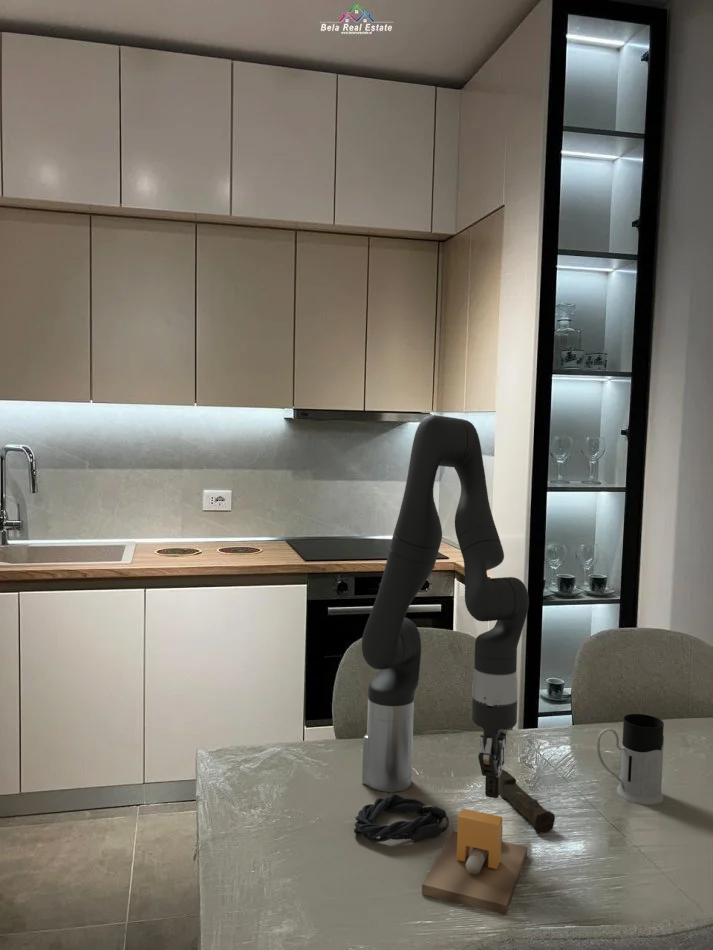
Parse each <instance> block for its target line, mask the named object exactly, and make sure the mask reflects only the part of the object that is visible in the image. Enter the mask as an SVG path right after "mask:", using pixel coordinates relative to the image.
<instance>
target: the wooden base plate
mask: <svg viewBox="0 0 713 950" xmlns="http://www.w3.org/2000/svg"><path fill="white" fill-rule="evenodd" d="M502 829H503V825H502ZM457 832H458V830H453V829H452V830H451V832H450V834H449V836H448V837H447V839H446V841H445V842H444V844H443V846H442V848H441V850H440V851H439V853H438V855H437V857H436V859H435V861H434V862H433V864H432V867H431V868H430V870H429V872H428V873H427V874H426V877H425V878H424V880H423V882H422V884H421V894H422V893H423V894H422V895H425V894H427V895H426V896H429V895H430V897H433V898H437V899H439V900H444V901H448V902H454V903H456V904H461V905H464V906H469V907H472V908H477V909H481V910H485V911H488V912H492V913H496V914H500V915H504V916H506V915H507V914H508V910H509V908H510V905H511V902H512V899H513V896H514V893H515V890H516V889H517V885H518V882H519V879H520V876H521V873H522V870H523V868H524V866H525V862H526V859H527V857H528V846H526V845H521V844H516V843H512V842H508V841H504V840H502V841H501V860H500V863H499V865H498V868H497V869H494V868H490V867H488V859H489V851H488V850H483V849H479V848H474V847H470V849H469V854H468V856H467V859H466V861H465V862H464V861H460V860H456V859H457Z"/></svg>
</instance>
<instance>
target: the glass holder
mask: <svg viewBox="0 0 713 950" xmlns="http://www.w3.org/2000/svg"><path fill="white" fill-rule="evenodd" d="M664 724H665V723H664V721H663V720H662V719H660V718H658V717H656V716H652V715H649V714H642V713H631V714H630V713H629V714H626V715H625V716H623V724H622V741H621V745H620V741H619V740H620V739H619V734H618V733H617V732H616V731H615V730H614V729H613V728H611V727H610V728H609V727H607V728H604V729H602V730H600V732H599V733H598V735H597V737H596V750H597V751H596V752H597V756H598V758H599V761H600V764H602V765H601V766H603V767H604V768H605V769H606V770H607V771H608V772H609V773H610V774H611V775H612V776H613V777H614V778H615V779H616V780H617V781H619V782H618V783H619V784H618V787H617V788H616V794H617V795H619V797H621V798H622V799H624V800H626V801H628V802H631V803H634V804H638V805H645V806H646V805H648V806H649V805H650V806H652V805H658V804H661V803H662V802H663V801H664V796H663V792H662V784H663V783H662V781H663V780H662V779H663V767H664V766H663V765H664V764H663V763H664V762H663V761H664V745H665V742H664V741H665V737H664V726H665V725H664ZM609 731H610V732H613V734H614V737H615V747H616V748H617V749H618V750H620V766H619V767H620V768H619V776H618V775H616V774H615V773H614V772H613V771H612V770H611V769H609V767H608V766H607V765H606V763H605V762H604V760H603V757H602V754H601V746H600V743H601V737H602V736H603V734H604V733H607V732H609ZM619 745H620V746H621V747H620V746H619Z"/></svg>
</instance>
